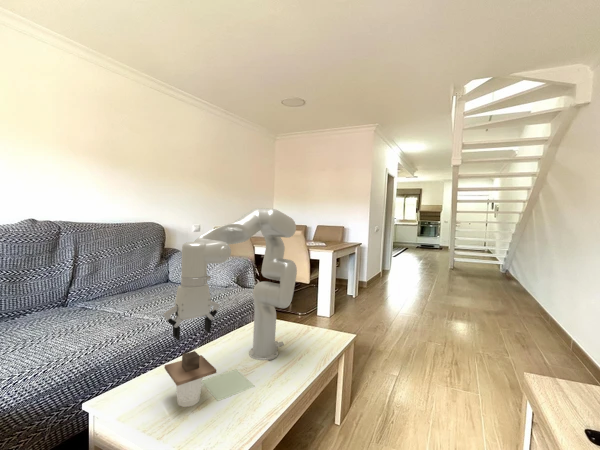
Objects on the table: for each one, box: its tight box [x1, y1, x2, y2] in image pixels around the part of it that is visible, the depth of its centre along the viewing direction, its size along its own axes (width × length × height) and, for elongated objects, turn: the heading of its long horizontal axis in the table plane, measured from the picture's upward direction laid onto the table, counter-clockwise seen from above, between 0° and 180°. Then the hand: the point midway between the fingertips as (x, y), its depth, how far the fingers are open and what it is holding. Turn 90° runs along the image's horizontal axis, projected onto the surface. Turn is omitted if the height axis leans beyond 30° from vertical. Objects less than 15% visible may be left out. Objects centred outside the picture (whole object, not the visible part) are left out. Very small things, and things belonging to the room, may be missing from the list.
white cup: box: [176, 378, 203, 408], centre depth 91 cm, size 8×8×10 cm
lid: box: [164, 350, 218, 387], centre depth 91 cm, size 12×12×5 cm
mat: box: [202, 368, 256, 402], centre depth 101 cm, size 14×14×1 cm
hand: (192, 334), depth 91 cm, fingers open, 9 cm apart
